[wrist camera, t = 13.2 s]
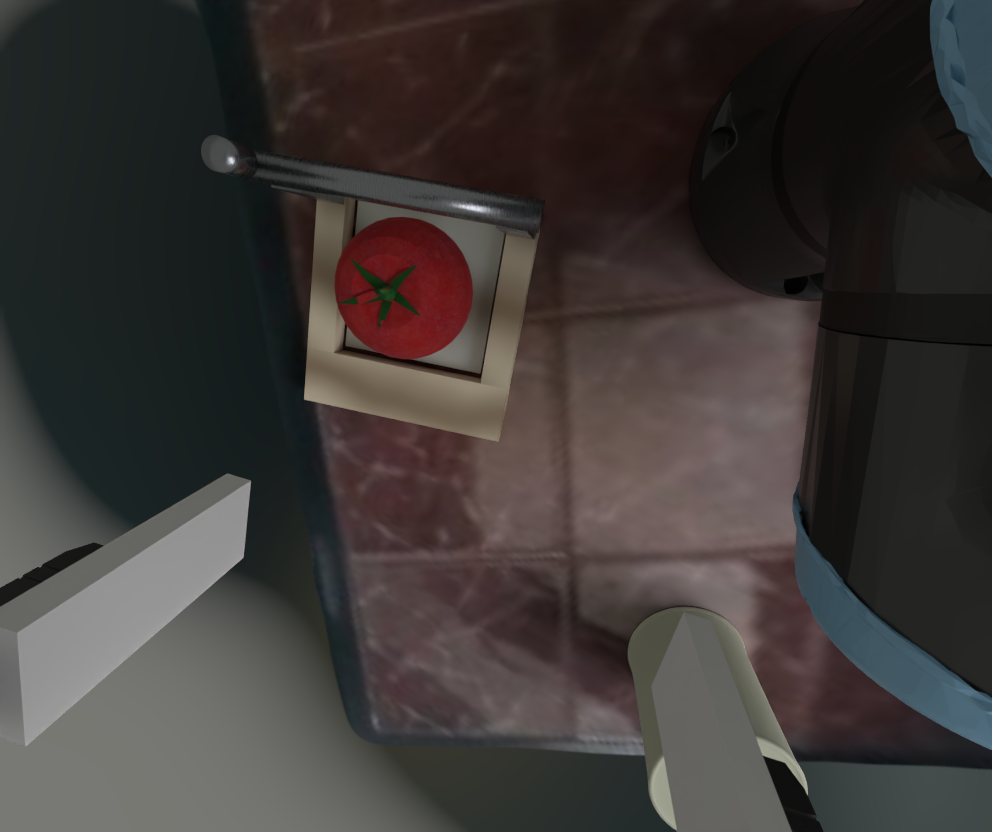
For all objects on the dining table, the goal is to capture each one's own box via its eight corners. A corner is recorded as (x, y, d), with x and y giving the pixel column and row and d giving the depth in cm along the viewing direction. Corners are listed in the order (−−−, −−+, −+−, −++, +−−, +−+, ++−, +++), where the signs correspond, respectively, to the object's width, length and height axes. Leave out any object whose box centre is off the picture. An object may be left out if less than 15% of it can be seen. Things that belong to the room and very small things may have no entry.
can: (608, 670, 43) (621, 816, 31) (661, 587, 40) (697, 715, 29) (707, 715, 43) (757, 878, 31) (767, 636, 40) (847, 783, 28)
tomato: (352, 332, 37) (296, 348, 30) (372, 208, 35) (316, 190, 27) (466, 364, 37) (439, 388, 29) (495, 240, 34) (473, 231, 26)
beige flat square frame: (329, 173, 35) (318, 169, 33) (543, 211, 33) (542, 208, 32) (314, 394, 39) (304, 399, 38) (500, 434, 38) (497, 441, 37)
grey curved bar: (300, 167, 33) (201, 130, 24) (549, 212, 32) (541, 189, 23) (298, 196, 34) (201, 170, 25) (544, 241, 32) (534, 231, 23)
